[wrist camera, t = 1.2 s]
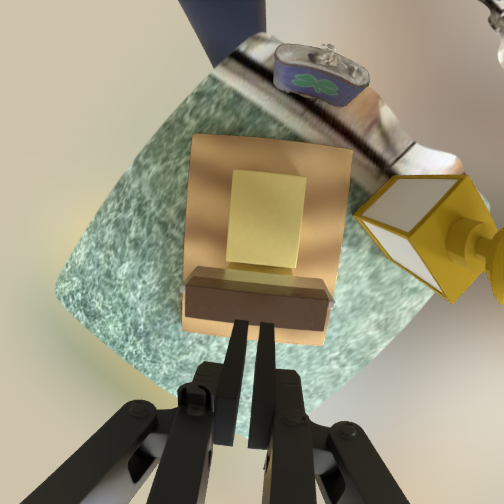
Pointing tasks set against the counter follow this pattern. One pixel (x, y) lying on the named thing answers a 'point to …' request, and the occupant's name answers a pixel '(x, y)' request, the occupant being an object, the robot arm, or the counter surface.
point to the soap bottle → (436, 232)
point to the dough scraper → (257, 298)
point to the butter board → (218, 206)
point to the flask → (318, 74)
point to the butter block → (265, 218)
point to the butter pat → (260, 268)
